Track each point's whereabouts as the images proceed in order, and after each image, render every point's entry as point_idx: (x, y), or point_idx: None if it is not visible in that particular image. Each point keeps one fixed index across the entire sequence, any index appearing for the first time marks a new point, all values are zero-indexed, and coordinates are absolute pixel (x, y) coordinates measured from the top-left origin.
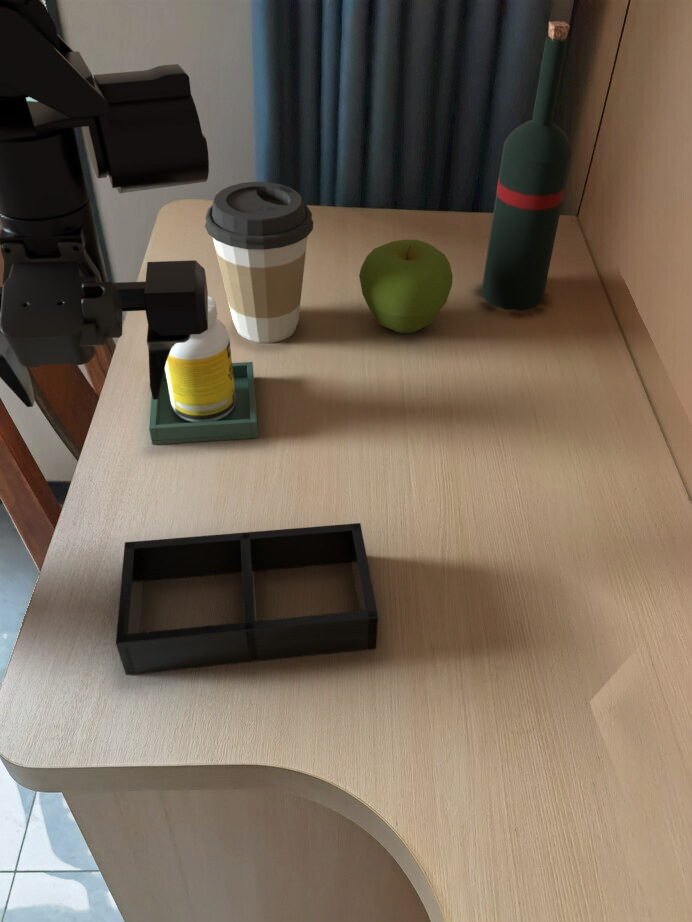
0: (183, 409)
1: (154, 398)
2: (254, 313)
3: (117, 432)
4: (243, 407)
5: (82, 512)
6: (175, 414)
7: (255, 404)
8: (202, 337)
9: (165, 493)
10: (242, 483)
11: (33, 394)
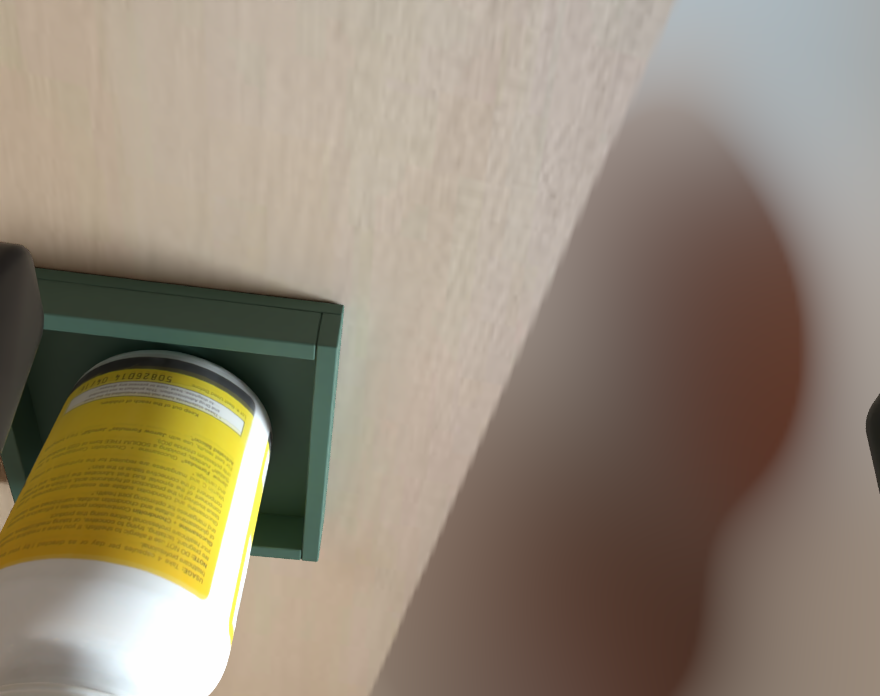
0: (220, 401)
1: (4, 247)
2: None
3: (446, 373)
4: (50, 388)
5: (609, 46)
6: (265, 401)
7: None
8: (30, 645)
9: (305, 70)
10: (12, 50)
11: (877, 448)
